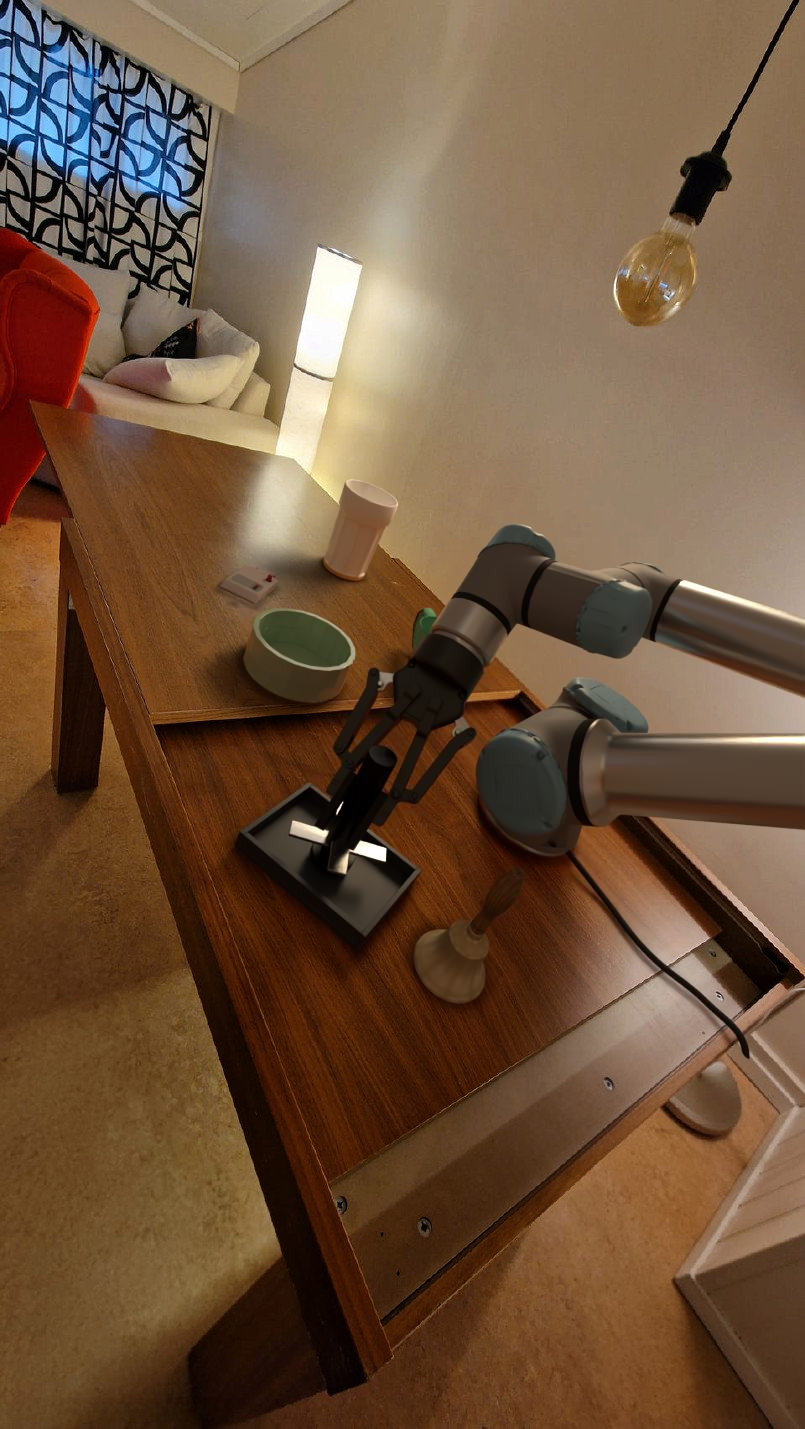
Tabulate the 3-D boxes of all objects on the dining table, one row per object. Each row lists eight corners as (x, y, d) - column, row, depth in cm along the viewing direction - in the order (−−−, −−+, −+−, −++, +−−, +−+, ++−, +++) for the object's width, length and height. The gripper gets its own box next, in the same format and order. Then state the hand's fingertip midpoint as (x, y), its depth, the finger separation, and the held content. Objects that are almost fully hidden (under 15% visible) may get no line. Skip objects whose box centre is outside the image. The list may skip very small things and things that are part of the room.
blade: (379, 837, 75) (434, 741, 66) (374, 907, 66) (435, 808, 58) (291, 810, 72) (335, 707, 64) (274, 879, 64) (322, 772, 55)
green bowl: (359, 686, 101) (374, 652, 97) (299, 720, 88) (314, 682, 85) (287, 634, 104) (298, 599, 101) (220, 659, 92) (230, 621, 88)
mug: (456, 698, 110) (481, 653, 104) (407, 693, 105) (431, 645, 99) (427, 650, 120) (449, 606, 114) (382, 642, 115) (403, 596, 109)
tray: (413, 883, 73) (421, 870, 72) (356, 951, 63) (365, 937, 62) (302, 795, 77) (309, 781, 76) (233, 846, 67) (239, 831, 66)
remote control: (213, 594, 105) (217, 578, 103) (252, 565, 118) (256, 551, 116) (249, 611, 105) (253, 596, 103) (283, 581, 118) (288, 567, 117)
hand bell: (398, 964, 64) (466, 869, 55) (436, 917, 71) (502, 825, 62) (462, 1021, 62) (543, 932, 53) (495, 967, 68) (572, 880, 60)
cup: (375, 587, 132) (406, 512, 122) (326, 578, 126) (355, 498, 117) (359, 561, 140) (387, 487, 130) (312, 551, 134) (338, 473, 124)
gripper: (515, 699, 70) (401, 882, 65) (394, 626, 72) (276, 798, 67) (528, 680, 62) (401, 884, 58) (393, 599, 64) (260, 790, 60)
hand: (334, 838), depth 62 cm, fingers closed on blade, 3 cm apart
